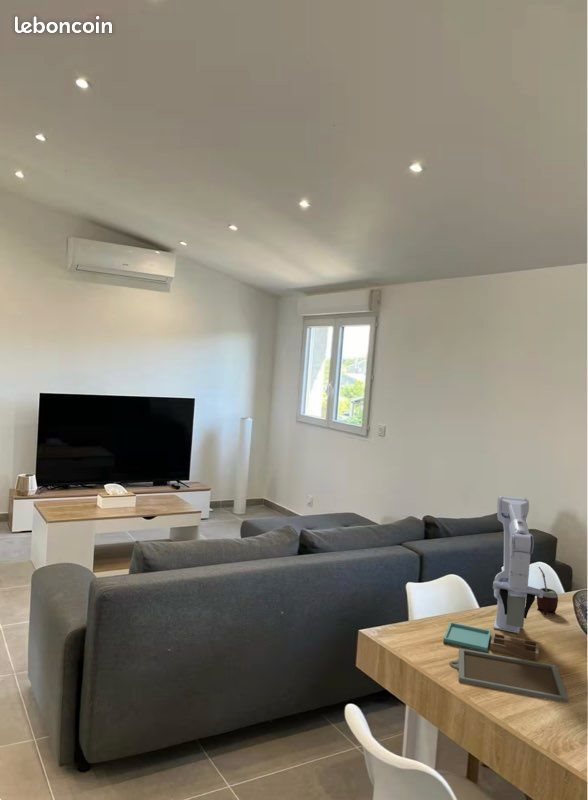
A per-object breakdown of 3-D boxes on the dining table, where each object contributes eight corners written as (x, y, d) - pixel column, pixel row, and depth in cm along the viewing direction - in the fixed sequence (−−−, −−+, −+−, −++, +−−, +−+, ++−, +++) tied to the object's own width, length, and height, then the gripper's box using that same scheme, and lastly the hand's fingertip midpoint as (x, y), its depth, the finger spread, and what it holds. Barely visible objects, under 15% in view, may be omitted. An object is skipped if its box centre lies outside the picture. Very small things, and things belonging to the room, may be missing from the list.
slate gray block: (506, 622, 187) (508, 594, 186) (523, 625, 185) (525, 597, 184) (506, 624, 185) (508, 596, 184) (523, 627, 183) (525, 599, 182)
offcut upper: (503, 641, 184) (504, 635, 184) (524, 646, 182) (525, 639, 182) (503, 645, 181) (504, 639, 181) (524, 650, 179) (525, 643, 179)
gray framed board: (568, 698, 153) (448, 675, 162) (567, 704, 154) (448, 681, 162) (556, 665, 172) (450, 646, 180) (556, 670, 172) (449, 651, 180)
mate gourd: (555, 617, 211) (558, 576, 211) (531, 611, 215) (535, 571, 215) (558, 611, 218) (561, 571, 217) (535, 605, 222) (538, 566, 221)
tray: (449, 626, 197) (450, 621, 197) (490, 635, 192) (491, 630, 192) (443, 642, 184) (443, 638, 184) (486, 652, 179) (487, 647, 179)
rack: (492, 639, 189) (492, 632, 189) (538, 649, 184) (538, 642, 184) (490, 650, 182) (490, 643, 181) (537, 660, 176) (538, 653, 176)
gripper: (493, 571, 183) (490, 614, 184) (544, 580, 178) (540, 625, 178) (495, 565, 190) (491, 607, 190) (544, 574, 184) (540, 616, 185)
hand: (515, 615), depth 185 cm, fingers closed on slate gray block, 5 cm apart
